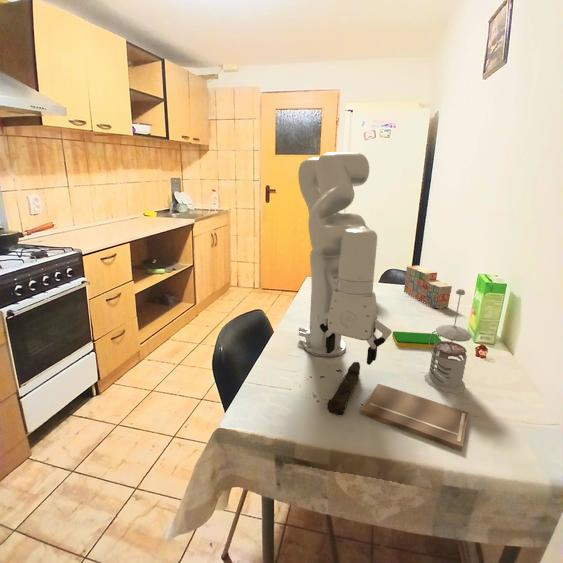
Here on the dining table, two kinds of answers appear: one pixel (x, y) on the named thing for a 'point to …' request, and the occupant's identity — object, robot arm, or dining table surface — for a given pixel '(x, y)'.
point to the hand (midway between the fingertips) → (349, 356)
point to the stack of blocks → (426, 287)
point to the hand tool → (344, 390)
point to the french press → (447, 369)
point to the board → (417, 416)
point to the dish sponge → (414, 339)
